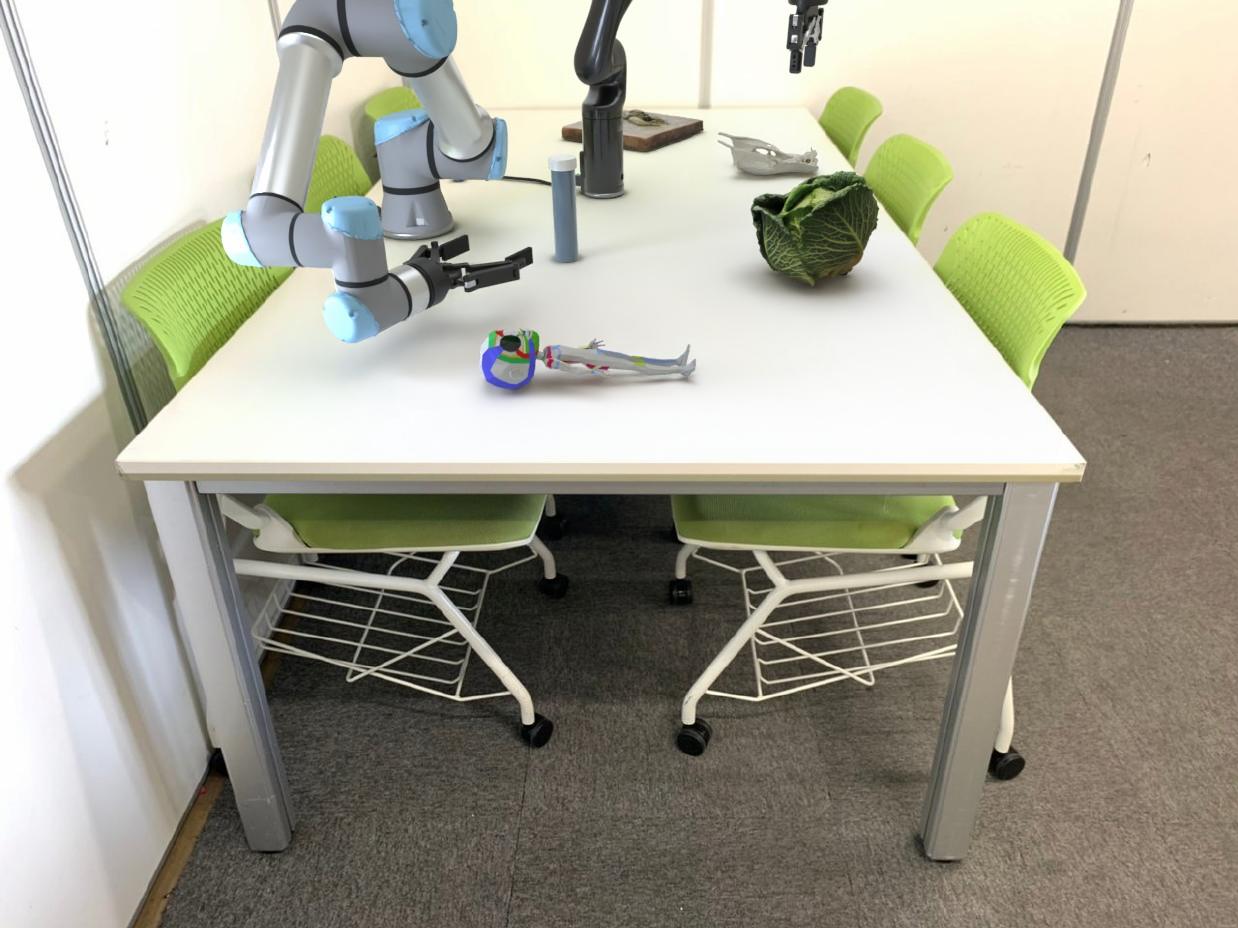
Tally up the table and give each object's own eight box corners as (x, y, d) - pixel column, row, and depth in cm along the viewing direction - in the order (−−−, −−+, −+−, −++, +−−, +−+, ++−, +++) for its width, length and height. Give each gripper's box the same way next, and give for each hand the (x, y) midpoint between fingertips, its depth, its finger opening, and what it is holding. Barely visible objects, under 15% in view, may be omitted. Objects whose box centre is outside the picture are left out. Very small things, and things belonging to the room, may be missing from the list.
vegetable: (776, 302, 169) (727, 209, 161) (858, 246, 170) (814, 150, 162) (827, 317, 151) (775, 212, 143) (918, 253, 152) (872, 146, 144)
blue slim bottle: (569, 253, 174) (564, 155, 164) (583, 258, 172) (579, 159, 162) (551, 258, 172) (545, 159, 162) (564, 264, 169) (559, 164, 159)
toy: (701, 358, 123) (480, 340, 118) (690, 412, 127) (477, 397, 122) (689, 328, 131) (482, 310, 127) (679, 379, 136) (479, 364, 131)
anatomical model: (719, 128, 226) (819, 127, 222) (718, 166, 231) (817, 165, 227) (715, 142, 213) (822, 141, 210) (715, 181, 218) (819, 181, 215)
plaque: (647, 125, 237) (559, 112, 252) (647, 153, 241) (560, 139, 256) (706, 107, 258) (622, 97, 273) (705, 133, 262) (622, 121, 277)
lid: (565, 163, 166) (565, 152, 165) (582, 168, 162) (582, 157, 161) (543, 168, 163) (542, 157, 162) (559, 173, 160) (559, 162, 159)
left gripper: (358, 296, 145) (444, 258, 160) (479, 326, 134) (560, 282, 149) (350, 251, 141) (439, 216, 156) (474, 278, 130) (557, 238, 145)
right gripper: (802, -27, 174) (795, 63, 182) (778, -22, 163) (771, 74, 172) (840, -26, 171) (831, 66, 179) (818, -21, 160) (809, 77, 169)
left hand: (498, 248), depth 153 cm, fingers open, 13 cm apart
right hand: (802, 70), depth 176 cm, fingers open, 8 cm apart
